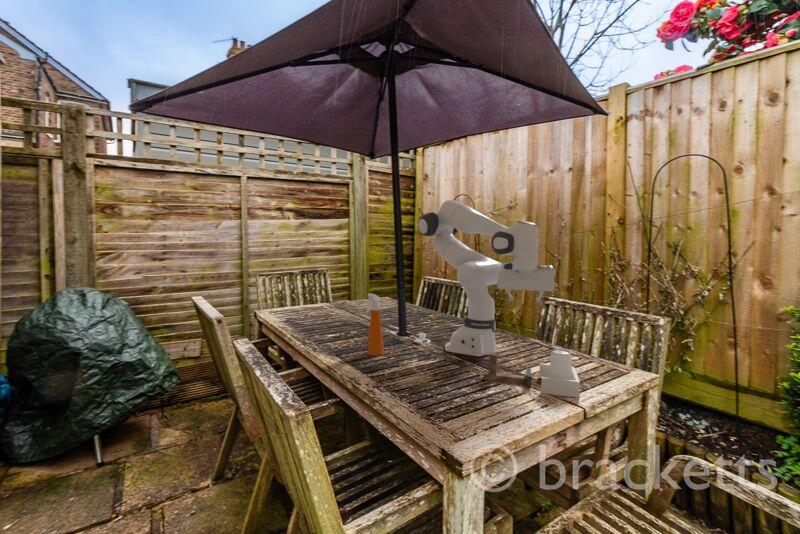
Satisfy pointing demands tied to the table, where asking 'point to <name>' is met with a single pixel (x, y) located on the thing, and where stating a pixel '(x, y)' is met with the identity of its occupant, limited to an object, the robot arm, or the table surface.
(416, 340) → the teacup and saucer
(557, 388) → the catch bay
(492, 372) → the brown l-shaped rod
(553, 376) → the can
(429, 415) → the table surface
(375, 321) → the spray bottle
